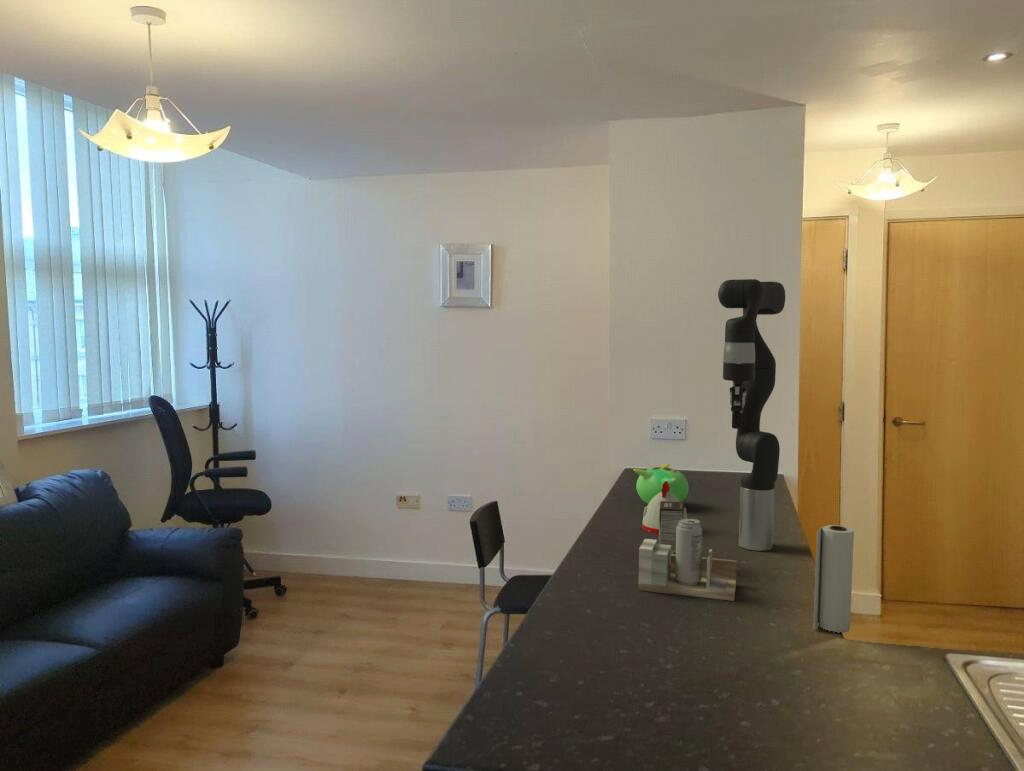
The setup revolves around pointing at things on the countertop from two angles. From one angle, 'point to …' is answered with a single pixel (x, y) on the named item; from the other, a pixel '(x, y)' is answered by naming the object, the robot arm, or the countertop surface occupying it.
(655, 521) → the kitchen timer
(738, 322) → the robot arm
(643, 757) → the countertop surface
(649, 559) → the wooden desk organizer
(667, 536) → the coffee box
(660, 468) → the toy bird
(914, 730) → the countertop surface
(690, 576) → the energy drink can
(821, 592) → the paper towel roll
